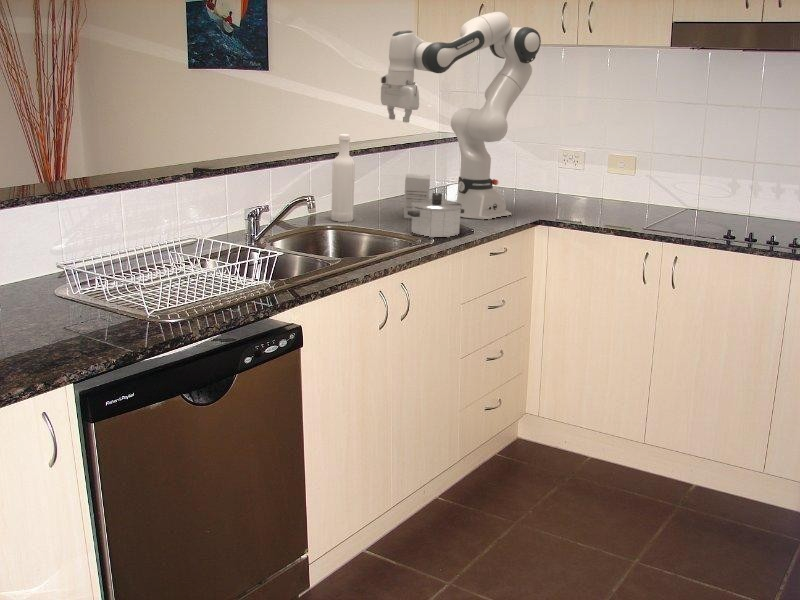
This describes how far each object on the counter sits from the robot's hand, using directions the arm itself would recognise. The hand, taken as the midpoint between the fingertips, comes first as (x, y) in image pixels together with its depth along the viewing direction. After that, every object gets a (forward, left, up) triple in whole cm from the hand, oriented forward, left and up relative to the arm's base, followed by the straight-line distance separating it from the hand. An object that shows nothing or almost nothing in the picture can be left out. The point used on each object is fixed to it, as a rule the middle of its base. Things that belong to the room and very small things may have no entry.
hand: (398, 120), depth 306 cm
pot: (-3, +22, -35) cm, 41 cm away
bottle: (+18, -6, -35) cm, 40 cm away
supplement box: (-11, -3, -35) cm, 37 cm away
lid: (-3, +22, -27) cm, 35 cm away
